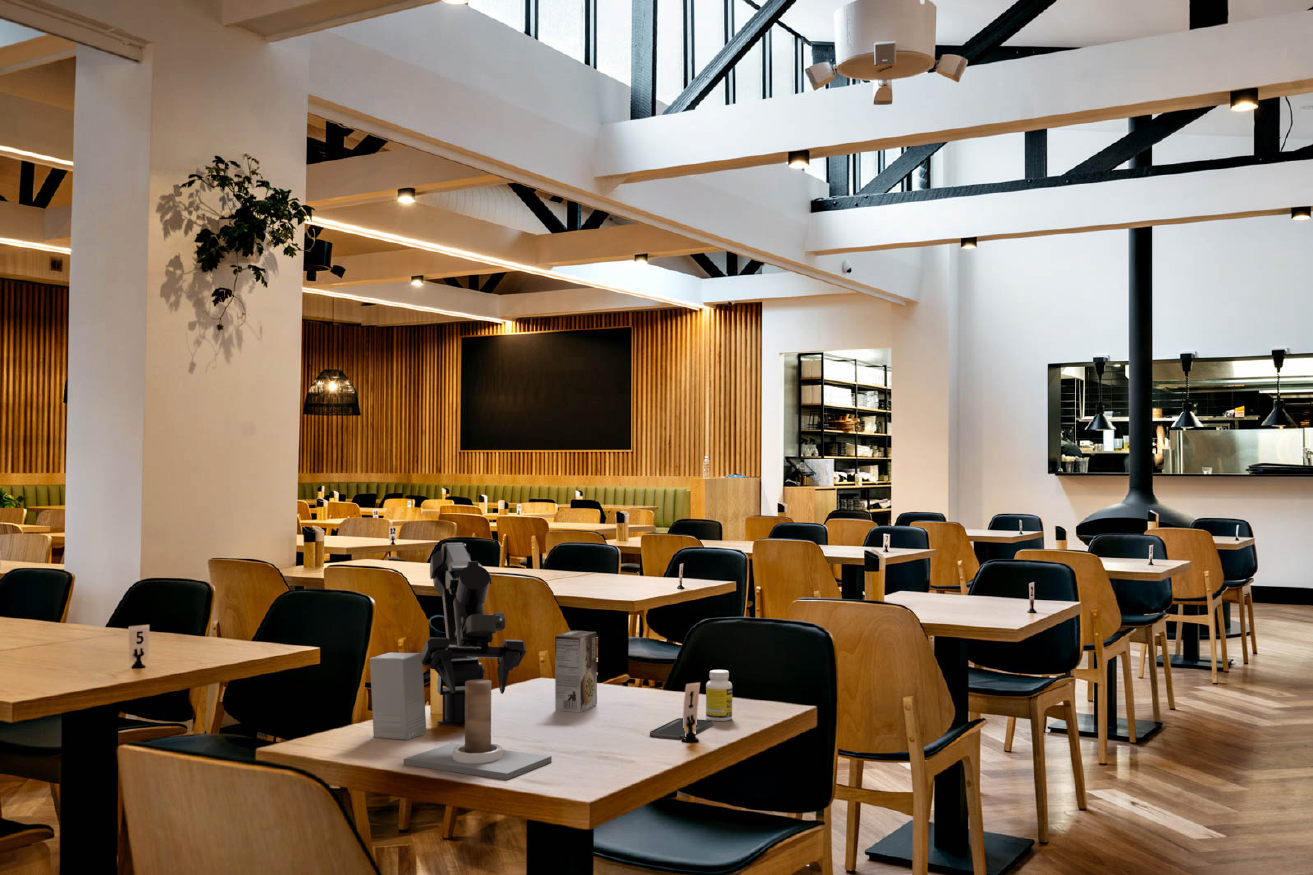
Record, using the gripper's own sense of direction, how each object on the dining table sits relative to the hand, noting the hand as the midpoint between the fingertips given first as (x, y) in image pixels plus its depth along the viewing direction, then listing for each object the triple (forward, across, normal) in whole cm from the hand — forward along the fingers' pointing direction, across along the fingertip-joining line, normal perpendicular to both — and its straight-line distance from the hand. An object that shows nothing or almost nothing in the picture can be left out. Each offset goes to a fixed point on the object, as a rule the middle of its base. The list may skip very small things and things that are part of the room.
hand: (478, 692), depth 197 cm
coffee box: (-13, +31, +28) cm, 43 cm away
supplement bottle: (+1, +53, +8) cm, 54 cm away
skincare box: (-3, -10, +22) cm, 24 cm away
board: (+14, -2, 0) cm, 14 cm away
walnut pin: (+13, -2, 0) cm, 13 cm away
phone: (+6, +42, +4) cm, 42 cm away
